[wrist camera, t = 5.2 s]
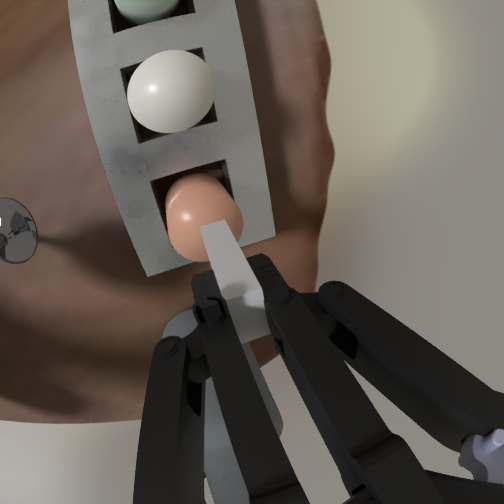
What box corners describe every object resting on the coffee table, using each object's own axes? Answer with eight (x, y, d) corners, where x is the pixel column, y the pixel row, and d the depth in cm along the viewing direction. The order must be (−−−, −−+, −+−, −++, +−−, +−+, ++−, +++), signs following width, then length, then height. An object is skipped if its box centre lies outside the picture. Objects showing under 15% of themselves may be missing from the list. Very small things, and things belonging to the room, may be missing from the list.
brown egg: (175, 238, 23) (181, 270, 19) (157, 183, 21) (157, 205, 17) (231, 220, 24) (249, 248, 20) (219, 165, 21) (235, 182, 17)
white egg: (143, 135, 18) (138, 144, 14) (128, 73, 16) (119, 64, 12) (208, 116, 19) (223, 120, 15) (196, 55, 16) (207, 41, 12)
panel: (147, 259, 26) (147, 277, 24) (74, -16, 11) (66, -28, 8) (264, 222, 28) (275, 236, 26) (212, -50, 13) (219, -64, 10)
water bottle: (219, 364, 37) (294, 554, 14) (151, 353, 32) (201, 578, 10) (254, 311, 34) (370, 532, 11) (176, 293, 29) (263, 584, 6)
